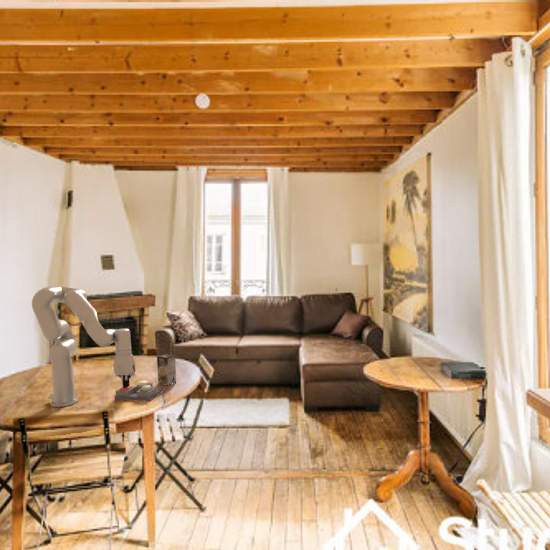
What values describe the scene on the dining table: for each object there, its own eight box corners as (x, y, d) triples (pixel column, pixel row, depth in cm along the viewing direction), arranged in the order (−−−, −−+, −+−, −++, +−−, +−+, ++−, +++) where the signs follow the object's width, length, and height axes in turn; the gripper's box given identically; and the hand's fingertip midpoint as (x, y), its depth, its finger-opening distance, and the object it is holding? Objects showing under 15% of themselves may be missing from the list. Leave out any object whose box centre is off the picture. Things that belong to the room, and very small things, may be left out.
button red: (119, 392, 206) (118, 388, 206) (124, 389, 210) (124, 385, 210) (127, 392, 205) (127, 388, 205) (132, 389, 209) (132, 385, 209)
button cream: (136, 387, 211) (136, 383, 211) (141, 384, 216) (141, 380, 216) (144, 387, 210) (144, 383, 210) (149, 384, 215) (149, 380, 215)
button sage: (139, 391, 203) (139, 388, 203) (144, 388, 208) (144, 385, 208) (148, 392, 202) (148, 388, 202) (153, 389, 207) (152, 385, 207)
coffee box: (157, 383, 229) (156, 356, 228) (166, 380, 234) (164, 353, 233) (168, 386, 223) (166, 357, 223) (177, 382, 229) (175, 355, 228)
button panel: (114, 399, 205) (114, 391, 204) (131, 389, 219) (130, 381, 219) (149, 401, 200) (149, 392, 200) (164, 391, 215) (163, 382, 215)
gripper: (106, 354, 205) (109, 389, 205) (132, 354, 201) (135, 389, 202) (115, 350, 212) (117, 384, 213) (140, 350, 209) (143, 385, 209)
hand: (126, 387), depth 207 cm, fingers closed
